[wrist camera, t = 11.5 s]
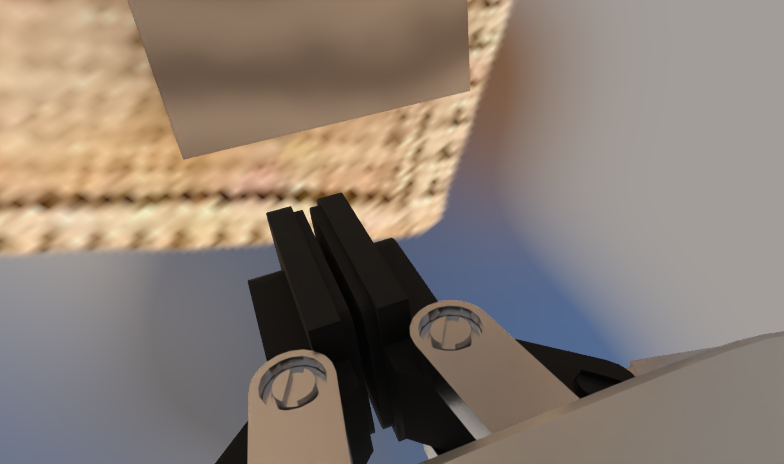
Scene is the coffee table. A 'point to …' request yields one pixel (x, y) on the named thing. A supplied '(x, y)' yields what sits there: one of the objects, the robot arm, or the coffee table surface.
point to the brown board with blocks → (296, 63)
